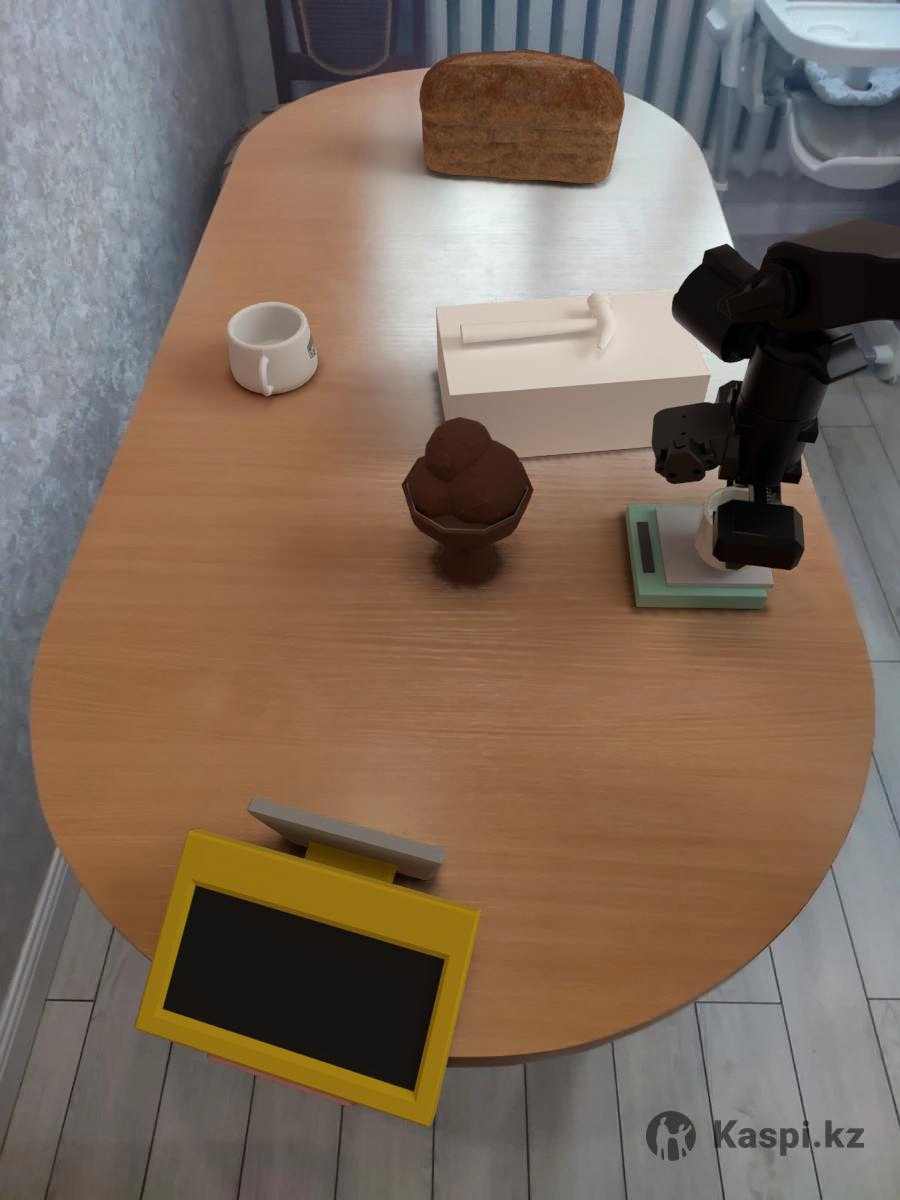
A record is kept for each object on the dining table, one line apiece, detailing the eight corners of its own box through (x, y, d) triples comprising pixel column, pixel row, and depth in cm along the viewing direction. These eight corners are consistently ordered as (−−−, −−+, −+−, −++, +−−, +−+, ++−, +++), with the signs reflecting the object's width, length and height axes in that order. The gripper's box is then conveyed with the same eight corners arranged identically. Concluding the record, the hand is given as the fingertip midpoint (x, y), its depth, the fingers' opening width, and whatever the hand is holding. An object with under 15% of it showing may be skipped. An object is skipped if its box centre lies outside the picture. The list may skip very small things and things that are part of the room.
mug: (239, 344, 103) (228, 298, 99) (322, 343, 103) (315, 296, 99) (223, 412, 96) (211, 366, 91) (313, 410, 96) (305, 364, 91)
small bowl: (762, 528, 79) (776, 491, 76) (763, 579, 76) (778, 542, 72) (693, 519, 80) (704, 482, 77) (692, 569, 76) (702, 533, 73)
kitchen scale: (747, 518, 85) (753, 500, 83) (769, 609, 78) (776, 592, 76) (625, 516, 85) (628, 499, 84) (636, 607, 79) (640, 590, 77)
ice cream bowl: (390, 588, 81) (376, 465, 69) (437, 505, 87) (432, 379, 75) (500, 622, 78) (506, 500, 66) (541, 534, 84) (552, 409, 73)
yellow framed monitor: (493, 860, 57) (422, 1138, 50) (495, 883, 63) (433, 1130, 57) (206, 782, 60) (103, 1031, 53) (239, 812, 67) (151, 1036, 60)
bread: (430, 141, 134) (426, 35, 123) (618, 153, 131) (632, 44, 119) (415, 181, 127) (409, 71, 115) (613, 194, 123) (628, 82, 112)
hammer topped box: (693, 443, 92) (716, 354, 83) (451, 463, 90) (449, 375, 82) (658, 357, 101) (676, 269, 92) (438, 374, 99) (435, 286, 91)
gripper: (673, 312, 72) (643, 457, 84) (662, 470, 60) (630, 611, 73) (816, 325, 70) (765, 471, 82) (833, 490, 59) (771, 631, 71)
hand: (731, 540), depth 77 cm, fingers closed on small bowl, 6 cm apart
